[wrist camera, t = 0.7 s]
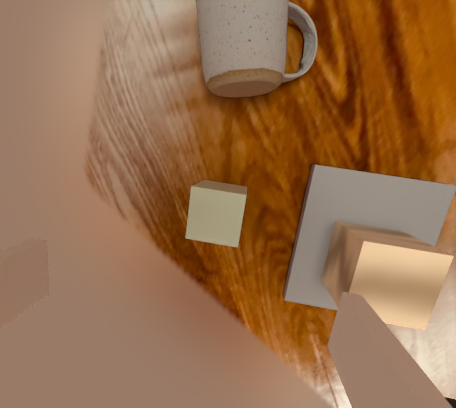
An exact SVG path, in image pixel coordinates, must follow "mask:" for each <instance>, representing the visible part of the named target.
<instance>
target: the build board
mask: <svg viewBox="0 0 456 408" xmlns="http://www.w3.org/2000/svg"><path fill="white" fill-rule="evenodd" d="M455 190H456V185H449V184H442V183H435V182H429V181H422V180H415V179H409V178H402V177H395V176H388V175H382V174H375V173H368V172H361V171H355V170H348V169H341V168H335V167H328V166H321V165H314V164H312V166H311V171H310V175H309V180H308V184H307V189H306V193H305V198H304V202H303V207H302V211H301V216H300V220H299V225H298V229H297V234H296V238H295V243H294V247H293V252H292V256H291V261H290V265H289V270H288V274H287V279H286V283H285V288H284V292H283V296H284V300H285V301H291V302H296V303H301V304H307V305H312V306H317V307H323V308H328V309H333V310H338V307H337V305H336V304H335V302H334V300H333V298H332V297H331V295H330V293H329V292H328V290H327V288H326V286H325V285H324V283H323V281H322V280H321V278H322V274H323V271H324V267H325V263H326V259H327V255H328V251H329V247H330V244H331V240H332V236H333V232H334V228H335V224H336V221H340V222H346V223H353V224H359V225H365V226H371V227H377V228H383V229H389V230H395V231H402V232H405V233H407V234H409V235H411V236H413V237H415V238H417V239H420V240H422V241H424V242H426V243H428V244H430V245H432V246H434V247H435V245H436V242H437V240H438V237H439V234H440V231H441V229H442V226H443V223H444V220H445V218H446V215H447V212H448V210H449V207H450V204H451V201H452V199H453V196H454V193H455Z"/></svg>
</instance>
